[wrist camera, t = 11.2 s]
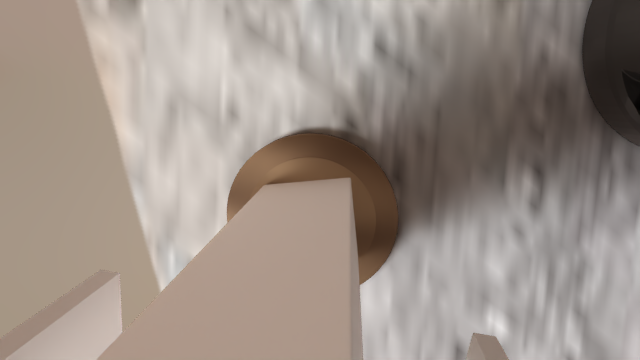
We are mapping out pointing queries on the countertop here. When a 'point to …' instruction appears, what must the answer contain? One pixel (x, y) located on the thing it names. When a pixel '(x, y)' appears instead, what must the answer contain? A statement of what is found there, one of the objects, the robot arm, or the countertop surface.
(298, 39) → the countertop surface
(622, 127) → the robot arm
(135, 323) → the milk
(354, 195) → the disc
